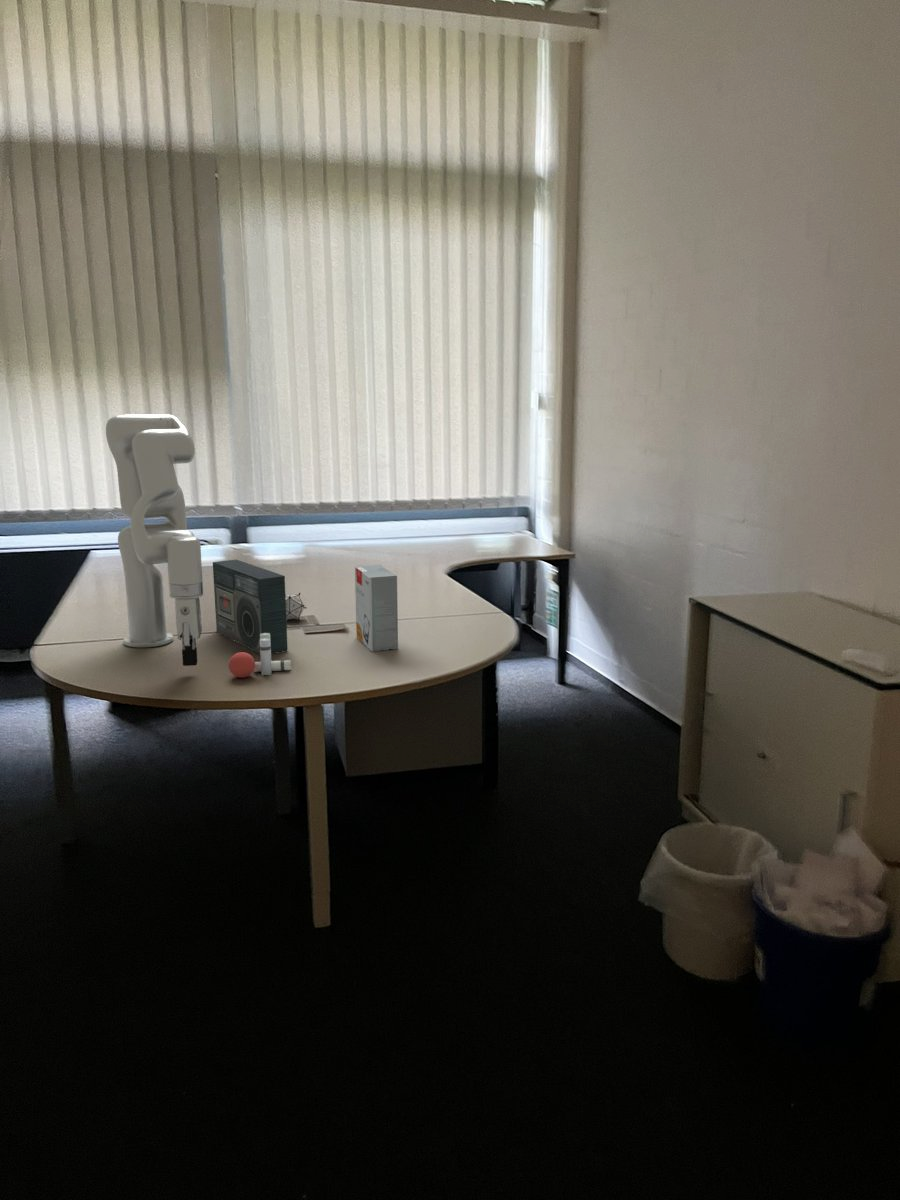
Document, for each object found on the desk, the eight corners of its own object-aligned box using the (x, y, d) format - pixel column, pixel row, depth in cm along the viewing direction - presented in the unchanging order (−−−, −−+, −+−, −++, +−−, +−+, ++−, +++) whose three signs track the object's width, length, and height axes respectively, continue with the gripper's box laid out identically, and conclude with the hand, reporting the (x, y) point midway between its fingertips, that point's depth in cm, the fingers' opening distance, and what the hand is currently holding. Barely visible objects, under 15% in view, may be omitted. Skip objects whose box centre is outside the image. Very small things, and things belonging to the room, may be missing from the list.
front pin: (254, 659, 213) (290, 657, 215) (255, 666, 215) (290, 665, 216) (254, 666, 211) (290, 665, 213) (254, 674, 213) (290, 672, 214)
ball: (258, 672, 212) (234, 666, 213) (259, 650, 209) (235, 645, 210) (248, 685, 207) (224, 679, 208) (249, 663, 204) (224, 657, 205)
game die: (297, 630, 265) (314, 602, 267) (293, 627, 257) (311, 598, 258) (271, 615, 266) (289, 586, 267) (266, 611, 257) (285, 582, 259)
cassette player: (216, 632, 249) (212, 562, 245) (239, 628, 254) (236, 559, 249) (263, 656, 227) (259, 579, 222) (287, 651, 231) (284, 575, 227)
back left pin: (259, 667, 217) (258, 633, 215) (269, 665, 218) (268, 632, 216) (263, 670, 215) (262, 636, 213) (273, 668, 216) (271, 634, 214)
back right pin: (259, 673, 212) (257, 639, 210) (269, 672, 213) (267, 637, 211) (263, 676, 210) (261, 641, 208) (273, 674, 211) (271, 640, 209)
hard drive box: (355, 637, 244) (354, 566, 240) (382, 634, 247) (381, 564, 242) (370, 652, 230) (369, 576, 226) (399, 649, 233) (398, 574, 228)
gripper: (200, 596, 200) (204, 674, 204) (205, 581, 214) (208, 654, 219) (165, 597, 198) (170, 675, 203) (172, 582, 213) (177, 655, 217)
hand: (190, 664), depth 211 cm, fingers closed
